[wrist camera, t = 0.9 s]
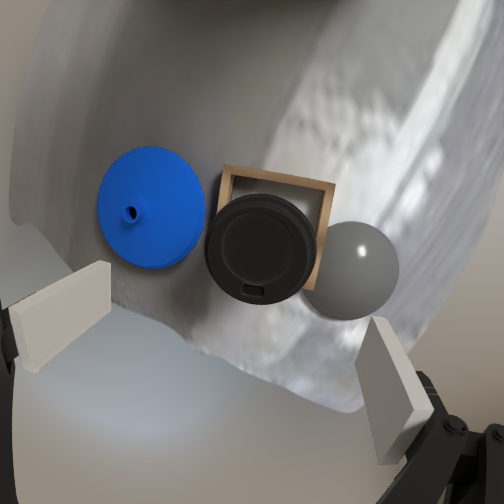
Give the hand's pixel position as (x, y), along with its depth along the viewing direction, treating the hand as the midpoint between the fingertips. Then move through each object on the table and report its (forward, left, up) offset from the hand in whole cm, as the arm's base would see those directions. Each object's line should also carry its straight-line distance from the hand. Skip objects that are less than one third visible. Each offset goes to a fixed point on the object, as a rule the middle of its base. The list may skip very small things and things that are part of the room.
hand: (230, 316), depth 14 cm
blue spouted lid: (0, -16, -26) cm, 30 cm away
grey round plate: (+4, +11, -25) cm, 28 cm away
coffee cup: (0, 0, -25) cm, 25 cm away
